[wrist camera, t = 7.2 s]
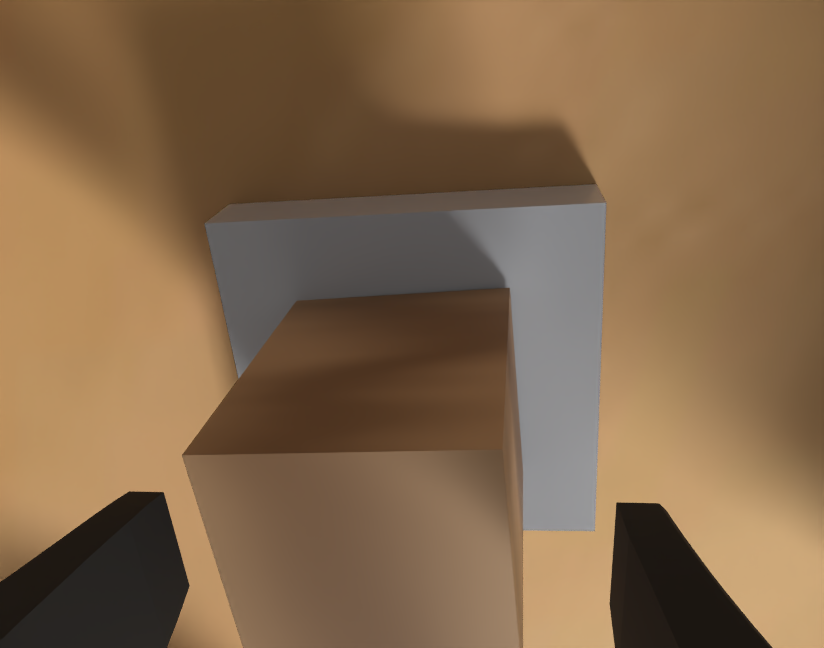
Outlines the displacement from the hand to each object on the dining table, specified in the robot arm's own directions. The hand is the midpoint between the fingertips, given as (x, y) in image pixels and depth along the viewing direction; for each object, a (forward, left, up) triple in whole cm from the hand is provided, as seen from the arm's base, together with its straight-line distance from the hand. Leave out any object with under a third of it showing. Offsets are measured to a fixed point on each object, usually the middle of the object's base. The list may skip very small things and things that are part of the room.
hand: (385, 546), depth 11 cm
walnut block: (0, 0, -5) cm, 5 cm away
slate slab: (0, 0, -7) cm, 7 cm away
